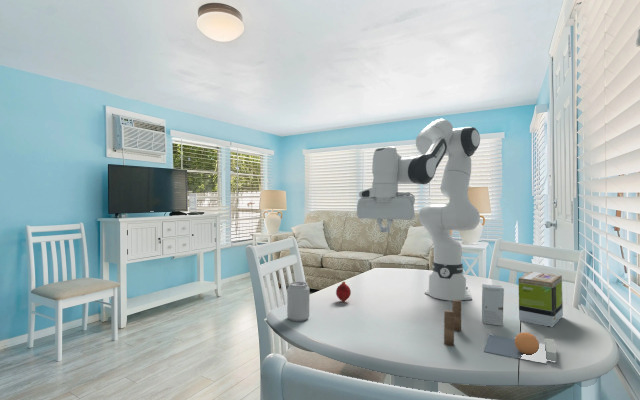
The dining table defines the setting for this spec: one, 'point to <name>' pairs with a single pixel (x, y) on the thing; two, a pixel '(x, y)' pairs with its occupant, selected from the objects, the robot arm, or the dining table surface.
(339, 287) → the onion
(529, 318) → the tea box
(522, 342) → the ball
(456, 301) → the post
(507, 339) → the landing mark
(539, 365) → the dining table surface
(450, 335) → the post
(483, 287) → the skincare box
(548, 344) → the stopper wall
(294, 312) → the can
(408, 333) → the dining table surface
